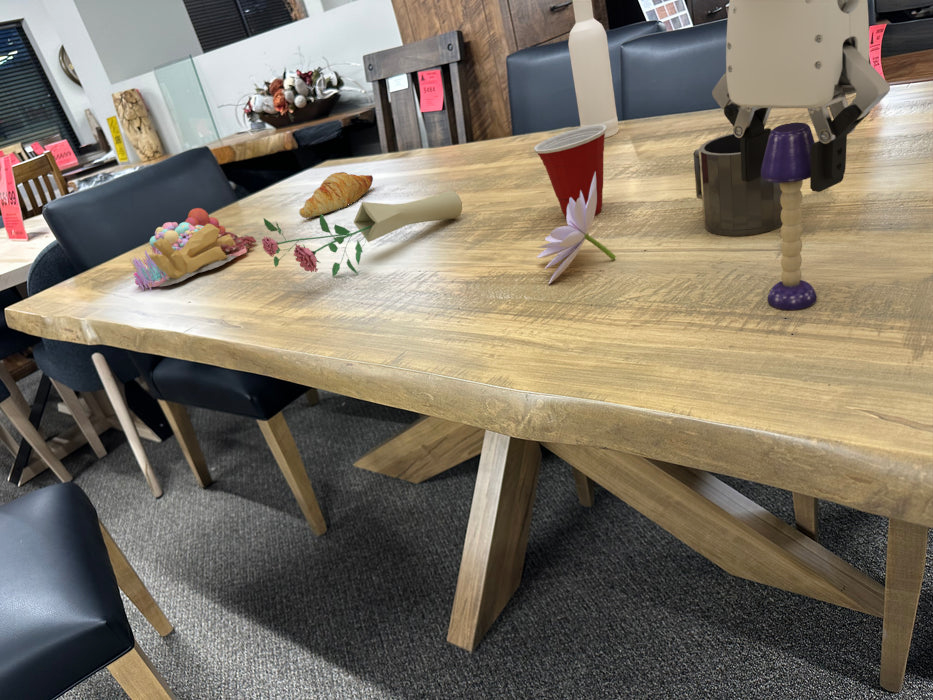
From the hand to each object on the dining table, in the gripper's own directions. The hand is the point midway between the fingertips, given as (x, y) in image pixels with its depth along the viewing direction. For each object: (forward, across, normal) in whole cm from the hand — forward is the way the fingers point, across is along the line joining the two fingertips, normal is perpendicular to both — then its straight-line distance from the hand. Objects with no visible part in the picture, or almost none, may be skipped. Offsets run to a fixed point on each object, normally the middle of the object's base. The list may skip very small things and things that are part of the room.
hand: (790, 179), depth 56 cm
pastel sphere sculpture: (+12, +97, +49) cm, 109 cm away
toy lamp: (+12, 0, 0) cm, 12 cm away
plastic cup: (+12, +42, -6) cm, 44 cm away
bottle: (+12, +80, -39) cm, 90 cm away
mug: (+12, +19, -14) cm, 27 cm away
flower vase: (+12, +58, +22) cm, 63 cm away
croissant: (+12, +103, +16) cm, 105 cm away
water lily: (+12, +27, +6) cm, 30 cm away
